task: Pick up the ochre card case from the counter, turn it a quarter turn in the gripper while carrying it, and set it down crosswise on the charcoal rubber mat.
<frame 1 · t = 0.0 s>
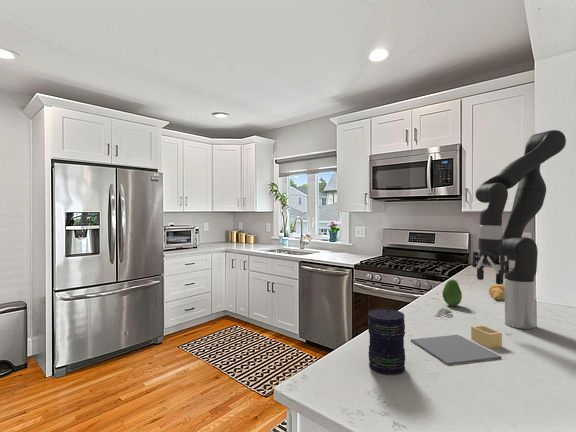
hand: (489, 281, 121), 17 cm above the countertop, tool pointing down, fingers open, 8 cm apart
mat: (453, 349, 104), on the countertop
storage jar: (386, 367, 92), on the countertop
avocado: (452, 306, 151), on the countertop
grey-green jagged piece: (440, 318, 135), on the countertop
croissant: (500, 297, 166), on the countertop
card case: (486, 343, 108), on the countertop
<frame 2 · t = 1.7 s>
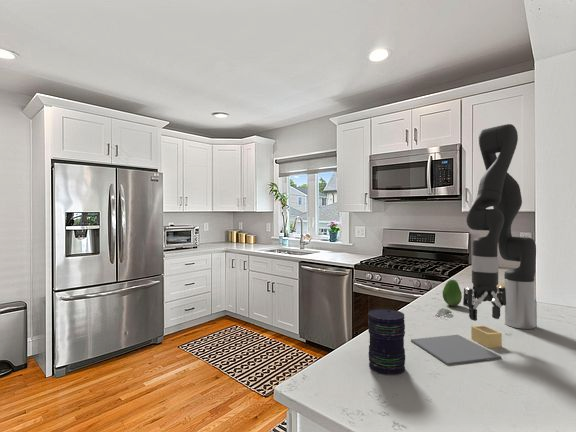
hand: (484, 319, 108), 8 cm above the countertop, tool pointing down, fingers open, 8 cm apart
nothing on the countertop moved.
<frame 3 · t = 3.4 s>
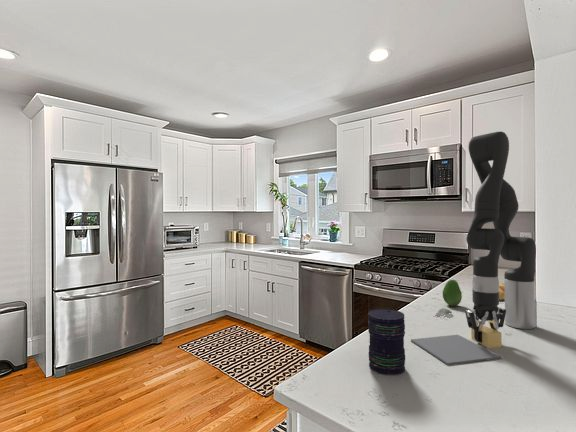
hand: (485, 340, 108), 1 cm above the countertop, tool pointing down, fingers closed on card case, 5 cm apart
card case: (486, 342, 108), on the countertop, touching gripper
everything else where it was.
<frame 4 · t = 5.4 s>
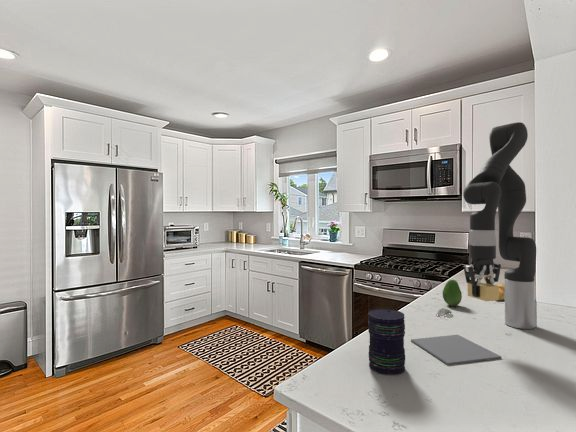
hand: (482, 295, 108), 16 cm above the countertop, tool pointing down, fingers closed on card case, 5 cm apart
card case: (482, 297, 108), point 15 cm above the countertop, touching gripper
everything else where it was.
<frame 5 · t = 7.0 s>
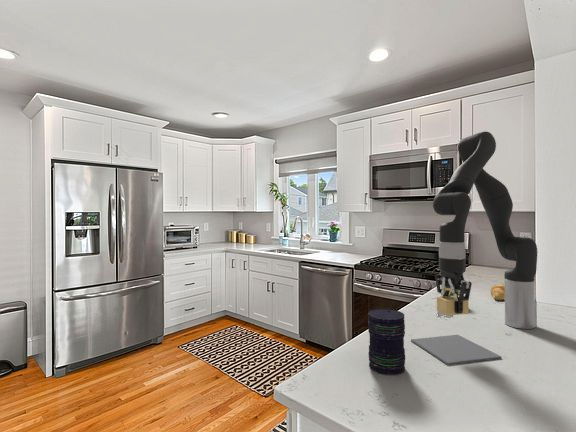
hand: (452, 310, 104), 12 cm above the countertop, tool pointing down, fingers closed on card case, 5 cm apart
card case: (452, 312, 104), point 12 cm above the countertop, touching gripper
everything else where it was.
when the fingers open (3 cm above the countertop, at t = 9.4 s): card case drops 1 cm, resting on mat.
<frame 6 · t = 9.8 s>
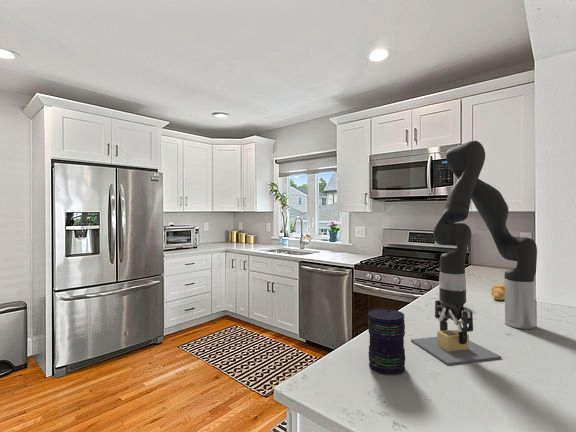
hand: (453, 338, 103), 3 cm above the countertop, tool pointing down, fingers open, 8 cm apart
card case: (452, 347, 104), point 1 cm above the countertop, touching mat
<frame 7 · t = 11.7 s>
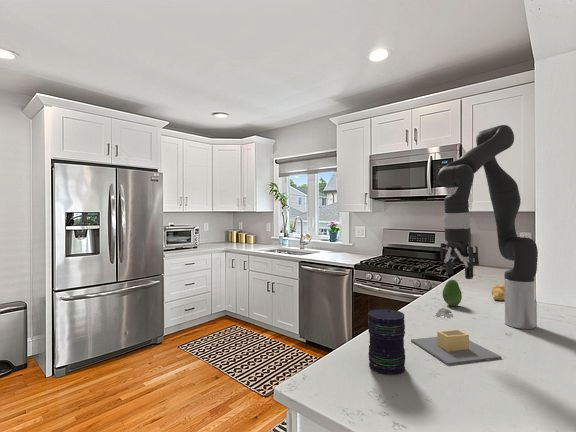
hand: (459, 276, 108), 22 cm above the countertop, tool pointing down, fingers open, 8 cm apart
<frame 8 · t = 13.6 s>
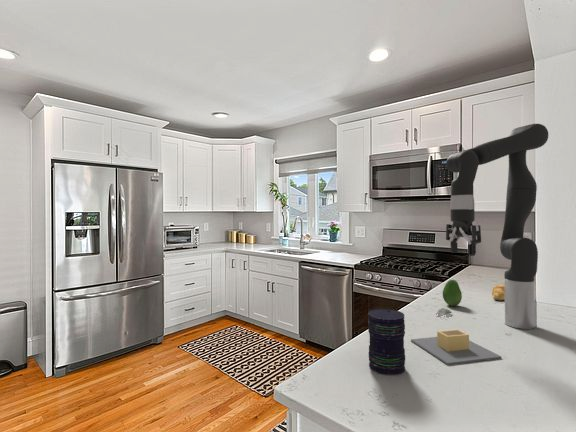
hand: (462, 254, 117), 28 cm above the countertop, tool pointing down, fingers open, 8 cm apart
at the end: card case inside the target area on the mat (0.1 cm from its centre), point 0.6 cm above the mat's base; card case tilted 0°; the gripper is holding nothing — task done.
